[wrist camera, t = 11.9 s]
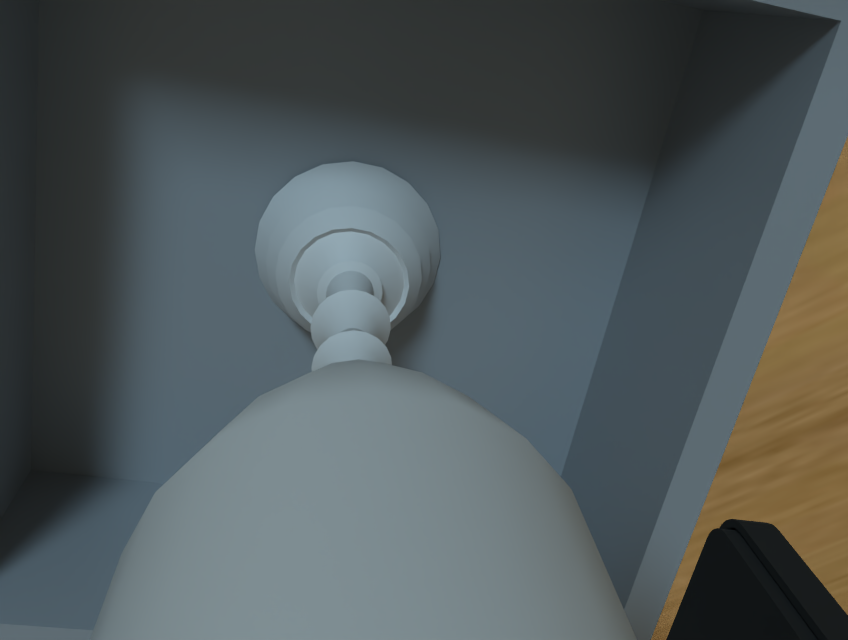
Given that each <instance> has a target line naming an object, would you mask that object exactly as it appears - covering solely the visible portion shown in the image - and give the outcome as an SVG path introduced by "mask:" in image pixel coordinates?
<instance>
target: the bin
mask: <svg viewBox="0 0 848 640" xmlns="http://www.w3.org/2000/svg"><path fill="white" fill-rule="evenodd" d="M847 136H848V0H0V640H90V638H91V635H92V633H93V630H94V627H95V625H96V622H97V619H98V616H99V614H100V611H101V608H102V606H103V603H104V600H105V597H106V595H107V592H108V589H109V587H110V584H111V581H112V578H113V576H114V573H115V570H116V568H117V565H118V562H119V559H120V557H121V554H122V552H123V550H124V548H125V546H126V545H127V543H128V541H129V539H130V537H131V536H132V534H133V532H134V530H135V528H136V526H137V525H138V523H139V521H140V519H141V517H142V515H143V514H144V512H145V510H146V508H147V506H148V504H149V503H150V501H151V499H152V497H153V495H154V494H155V492H156V491H157V490H158V489H159V488H160V487H161V486H163V485H164V484H165V483H166V482H167V481H168V480H169V479H170V478H171V477H172V476H173V475H174V474H175V473H176V472H177V471H178V470H179V469H181V468H182V467H183V466H184V465H185V464H186V463H187V462H188V461H189V460H190V459H191V458H192V457H193V456H194V455H195V454H196V453H198V452H199V451H200V450H201V449H202V448H203V447H204V446H205V445H206V444H207V443H208V442H209V441H210V440H211V439H212V438H213V437H214V436H216V435H217V434H218V433H219V432H220V431H221V430H222V429H223V428H224V427H225V426H226V425H228V424H229V423H230V422H231V421H232V420H233V419H234V418H235V417H236V416H237V415H239V414H240V413H241V412H242V411H243V410H244V409H245V408H246V407H247V406H249V405H250V404H251V403H252V402H253V401H254V400H255V399H256V398H257V397H258V396H260V395H263V394H265V393H267V392H269V391H271V390H273V389H275V388H278V387H280V386H282V385H284V384H286V383H288V382H290V381H293V380H295V379H297V378H299V377H301V376H303V375H305V374H308V373H310V372H312V369H311V367H312V362H313V358H314V355H315V353H316V352H317V348H316V346H315V344H314V342H313V340H312V336H311V332H309V331H307V330H305V329H304V328H303V327H302V326H300V325H298V324H297V323H296V322H294V321H293V320H292V319H290V318H289V317H288V316H287V315H286V314H285V313H284V312H283V311H282V310H281V309H280V308H279V307H278V306H277V305H276V304H275V303H274V302H273V301H272V300H271V298H270V296H269V294H268V292H267V290H266V288H265V287H264V285H263V283H262V281H261V279H260V277H259V272H258V266H257V261H256V255H255V245H256V239H257V233H258V226H259V222H260V220H261V218H262V216H263V214H264V212H265V211H266V209H267V207H268V205H269V203H270V201H271V200H272V198H273V196H274V195H275V194H277V193H278V192H279V191H280V190H281V189H282V188H283V187H284V186H285V185H286V184H287V183H289V182H290V181H291V180H292V179H293V178H294V177H295V176H298V175H300V174H302V173H304V172H307V171H309V170H311V169H313V168H316V167H318V166H320V165H322V164H331V163H341V162H350V161H354V162H359V163H364V164H368V165H373V166H378V167H382V168H384V169H386V170H388V171H389V172H391V173H393V174H395V175H396V176H398V177H400V178H402V179H403V180H405V181H407V182H408V183H409V184H410V185H411V186H412V187H413V188H414V189H415V190H416V192H417V193H418V194H419V195H420V196H421V197H422V198H423V199H424V201H425V202H426V203H427V204H428V206H429V209H430V211H431V213H432V216H433V218H434V220H435V223H436V225H437V228H438V230H439V245H440V261H439V264H438V268H437V272H436V276H435V280H434V284H433V285H432V287H431V288H430V290H429V291H428V293H427V294H426V296H425V297H424V299H423V301H422V302H421V304H420V305H419V307H417V308H416V309H415V310H414V311H413V312H411V313H410V314H409V315H408V316H407V317H406V318H405V319H403V320H402V321H401V322H400V323H399V324H397V325H396V326H395V327H394V328H393V329H391V330H390V334H389V338H388V341H387V342H386V344H385V346H386V347H387V349H388V351H389V354H390V356H391V362H392V365H393V366H397V367H402V368H406V369H410V370H414V371H418V372H422V373H424V374H426V375H428V376H430V377H432V378H434V379H436V380H438V381H440V382H442V383H443V384H445V385H447V386H449V387H451V388H453V389H455V390H457V391H459V392H461V393H463V394H465V395H467V396H469V397H470V398H471V399H473V400H474V401H476V402H477V403H478V404H480V405H481V406H482V407H484V408H485V409H487V410H488V411H489V412H491V413H492V414H493V415H495V416H496V417H497V418H499V419H500V420H502V421H503V422H504V423H506V424H507V425H508V426H510V427H511V428H513V429H514V430H515V431H517V432H518V433H519V434H521V435H522V436H523V437H525V438H526V439H527V440H528V441H529V442H530V443H531V444H532V445H533V447H534V448H535V449H536V450H537V451H538V452H539V453H540V454H541V456H542V457H543V458H544V459H545V460H546V461H547V462H548V463H549V464H550V466H551V467H552V468H553V469H554V470H555V471H556V472H557V473H558V475H559V476H560V477H561V478H562V479H563V480H564V481H565V482H566V484H567V485H568V486H569V487H570V488H571V489H572V492H573V494H574V496H575V498H576V501H577V503H578V505H579V508H580V510H581V512H582V515H583V517H584V519H585V521H586V524H587V526H588V528H589V531H590V533H591V535H592V538H593V540H594V542H595V544H596V547H597V549H598V551H599V554H600V556H601V558H602V561H603V563H604V565H605V567H606V570H607V572H608V574H609V577H610V579H611V581H612V584H613V586H614V588H615V590H616V593H617V595H618V597H619V600H620V602H621V604H622V607H623V609H624V611H625V613H626V616H627V618H628V620H629V623H630V625H631V627H632V630H633V632H634V634H635V636H636V639H637V640H651V637H652V635H653V632H654V630H655V627H656V624H657V622H658V619H659V617H660V614H661V612H662V609H663V607H664V604H665V601H666V599H667V596H668V594H669V591H670V589H671V586H672V583H673V581H674V578H675V576H676V573H677V571H678V568H679V566H680V563H681V560H682V558H683V555H684V553H685V550H686V548H687V545H688V543H689V540H690V537H691V535H692V532H693V530H694V527H695V525H696V522H697V520H698V517H699V514H700V512H701V509H702V507H703V504H704V502H705V499H706V497H707V494H708V491H709V489H710V486H711V484H712V481H713V479H714V476H715V474H716V471H717V468H718V466H719V463H720V461H721V458H722V456H723V453H724V450H725V448H726V445H727V443H728V440H729V438H730V435H731V433H732V430H733V427H734V425H735V422H736V420H737V417H738V415H739V412H740V410H741V407H742V404H743V402H744V399H745V397H746V394H747V392H748V389H749V387H750V384H751V381H752V379H753V376H754V374H755V371H756V369H757V366H758V364H759V361H760V358H761V356H762V353H763V351H764V348H765V346H766V343H767V340H768V338H769V335H770V333H771V330H772V328H773V325H774V323H775V320H776V317H777V315H778V312H779V310H780V307H781V305H782V302H783V300H784V297H785V294H786V292H787V289H788V287H789V284H790V282H791V279H792V277H793V274H794V271H795V269H796V266H797V264H798V261H799V259H800V256H801V254H802V251H803V248H804V246H805V243H806V241H807V238H808V236H809V233H810V230H811V228H812V225H813V223H814V220H815V218H816V215H817V213H818V210H819V207H820V205H821V202H822V200H823V197H824V195H825V192H826V190H827V187H828V184H829V182H830V179H831V177H832V174H833V172H834V169H835V167H836V164H837V161H838V159H839V156H840V154H841V151H842V149H843V146H844V144H845V141H846V138H847Z"/></svg>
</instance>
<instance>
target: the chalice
mask: <svg viewBox="0 0 848 640" xmlns="http://www.w3.org/2000/svg"><path fill="white" fill-rule="evenodd" d="M255 255H256V261H257V266H258V272H259V277H260V279H261V281H262V283H263V285H264V287H265V288H266V290H267V292H268V294H269V296H270V298H271V300H272V301H273V302H274V303H275V304H276V305H277V306H278V307H279V308H280V309H281V310H282V311H283V312H284V313H285V314H286V315H287V316H288V317H289V318H290V319H292V320H293V321H294V322H296V323H297V324H298V325H300V326H302V327H303V328H304V329H305V330H307V331H309V332H311V336H312V340H313V342H314V344H315V346H316V348H317V352H316V353H315V355H314V358H313V362H312V367H311V369H312V372H310V373H308V374H305V375H303V376H301V377H299V378H297V379H295V380H293V381H290V382H288V383H286V384H284V385H282V386H280V387H278V388H275V389H273V390H271V391H269V392H267V393H265V394H263V395H260V396H258V397H257V398H256V399H255V400H254V401H253V402H252V403H251V404H250V405H249V406H247V407H246V408H245V409H244V410H243V411H242V412H241V413H240V414H239V415H237V416H236V417H235V418H234V419H233V420H232V421H231V422H230V423H229V424H228V425H226V426H225V427H224V428H223V429H222V430H221V431H220V432H219V433H218V434H217V435H216V436H214V437H213V438H212V439H211V440H210V441H209V442H208V443H207V444H206V445H205V446H204V447H203V448H202V449H201V450H200V451H199V452H198V453H196V454H195V455H194V456H193V457H192V458H191V459H190V460H189V461H188V462H187V463H186V464H185V465H184V466H183V467H182V468H181V469H179V470H178V471H177V472H176V473H175V474H174V475H173V476H172V477H171V478H170V479H169V480H168V481H167V482H166V483H165V484H164V485H163V486H161V487H160V488H159V489H158V490H157V491H156V492H155V494H154V495H153V497H152V499H151V501H150V503H149V504H148V506H147V508H146V510H145V512H144V514H143V515H142V517H141V519H140V521H139V523H138V525H137V526H136V528H135V530H134V532H133V534H132V536H131V537H130V539H129V541H128V543H127V545H126V546H125V548H124V550H123V552H122V554H121V557H120V559H119V562H118V565H117V568H116V570H115V573H114V576H113V578H112V581H111V584H110V587H109V589H108V592H107V595H106V597H105V600H104V603H103V606H102V608H101V611H100V614H99V616H98V619H97V622H96V625H95V627H94V630H93V633H92V635H91V638H90V640H637V639H636V636H635V634H634V632H633V630H632V627H631V625H630V623H629V620H628V618H627V616H626V613H625V611H624V609H623V607H622V604H621V602H620V600H619V597H618V595H617V593H616V590H615V588H614V586H613V584H612V581H611V579H610V577H609V574H608V572H607V570H606V567H605V565H604V563H603V561H602V558H601V556H600V554H599V551H598V549H597V547H596V544H595V542H594V540H593V538H592V535H591V533H590V531H589V528H588V526H587V524H586V521H585V519H584V517H583V515H582V512H581V510H580V508H579V505H578V503H577V501H576V498H575V496H574V494H573V492H572V489H571V488H570V487H569V486H568V485H567V484H566V482H565V481H564V480H563V479H562V478H561V477H560V476H559V475H558V473H557V472H556V471H555V470H554V469H553V468H552V467H551V466H550V464H549V463H548V462H547V461H546V460H545V459H544V458H543V457H542V456H541V454H540V453H539V452H538V451H537V450H536V449H535V448H534V447H533V445H532V444H531V443H530V442H529V441H528V440H527V439H526V438H525V437H523V436H522V435H521V434H519V433H518V432H517V431H515V430H514V429H513V428H511V427H510V426H508V425H507V424H506V423H504V422H503V421H502V420H500V419H499V418H497V417H496V416H495V415H493V414H492V413H491V412H489V411H488V410H487V409H485V408H484V407H482V406H481V405H480V404H478V403H477V402H476V401H474V400H473V399H471V398H470V397H469V396H467V395H465V394H463V393H461V392H459V391H457V390H455V389H453V388H451V387H449V386H447V385H445V384H443V383H442V382H440V381H438V380H436V379H434V378H432V377H430V376H428V375H426V374H424V373H422V372H418V371H414V370H410V369H406V368H402V367H397V366H393V365H392V362H391V356H390V354H389V351H388V349H387V347H386V346H385V344H386V342H387V341H388V338H389V334H390V330H391V329H393V328H394V327H395V326H396V325H397V324H399V323H400V322H401V321H402V320H403V319H405V318H406V317H407V316H408V315H409V314H410V313H411V312H413V311H414V310H415V309H416V308H417V307H419V305H420V304H421V302H422V301H423V299H424V297H425V296H426V294H427V293H428V291H429V290H430V288H431V287H432V285H433V284H434V280H435V276H436V272H437V268H438V264H439V261H440V245H439V230H438V228H437V225H436V223H435V220H434V218H433V216H432V213H431V211H430V209H429V206H428V204H427V203H426V202H425V201H424V199H423V198H422V197H421V196H420V195H419V194H418V193H417V192H416V190H415V189H414V188H413V187H412V186H411V185H410V184H409V183H408V182H407V181H405V180H403V179H402V178H400V177H398V176H396V175H395V174H393V173H391V172H389V171H388V170H386V169H384V168H382V167H378V166H373V165H368V164H364V163H359V162H354V161H350V162H341V163H331V164H322V165H320V166H318V167H316V168H313V169H311V170H309V171H307V172H304V173H302V174H300V175H298V176H295V177H294V178H293V179H292V180H291V181H290V182H289V183H287V184H286V185H285V186H284V187H283V188H282V189H281V190H280V191H279V192H278V193H277V194H275V195H274V196H273V198H272V200H271V201H270V203H269V205H268V207H267V209H266V211H265V212H264V214H263V216H262V218H261V220H260V222H259V226H258V233H257V239H256V245H255Z"/></svg>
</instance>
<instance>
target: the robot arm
mask: <svg viewBox="0 0 848 640" xmlns="http://www.w3.org/2000/svg"><path fill="white" fill-rule="evenodd" d="M667 640H848V615H847V614H846V613H845V612H844V610H843V609H842V608H841V607H840V605H839V604H838V603H837V602H836V600H835V599H834V598H833V597H832V595H831V594H830V593H829V592H828V591H827V589H826V588H825V587H824V586H823V584H822V583H821V582H820V581H819V579H818V578H817V577H816V576H815V574H814V573H813V572H812V571H811V570H810V568H809V567H808V566H807V565H806V563H805V562H804V561H803V560H802V558H801V557H800V556H799V555H798V554H797V552H796V551H795V550H794V549H793V547H792V546H791V545H790V544H789V542H788V541H787V540H786V539H785V537H784V536H783V535H782V534H781V533H780V531H779V530H778V529H777V528H776V527H775V526H774V525H772V524H769V523H764V522H754V521H745V520H736V519H730V520H726V521H725V522H724V523H723V524H722V525H721V526H720V528H717V529H713V530H712V531H711V532H710V534H709V535H708V537H707V540H706V542H705V545H704V547H703V550H702V552H701V555H700V557H699V560H698V562H697V565H696V567H695V570H694V572H693V575H692V577H691V580H690V582H689V585H688V587H687V590H686V592H685V595H684V597H683V600H682V602H681V605H680V607H679V610H678V612H677V615H676V617H675V620H674V622H673V625H672V627H671V630H670V632H669V635H668V637H667Z"/></svg>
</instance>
